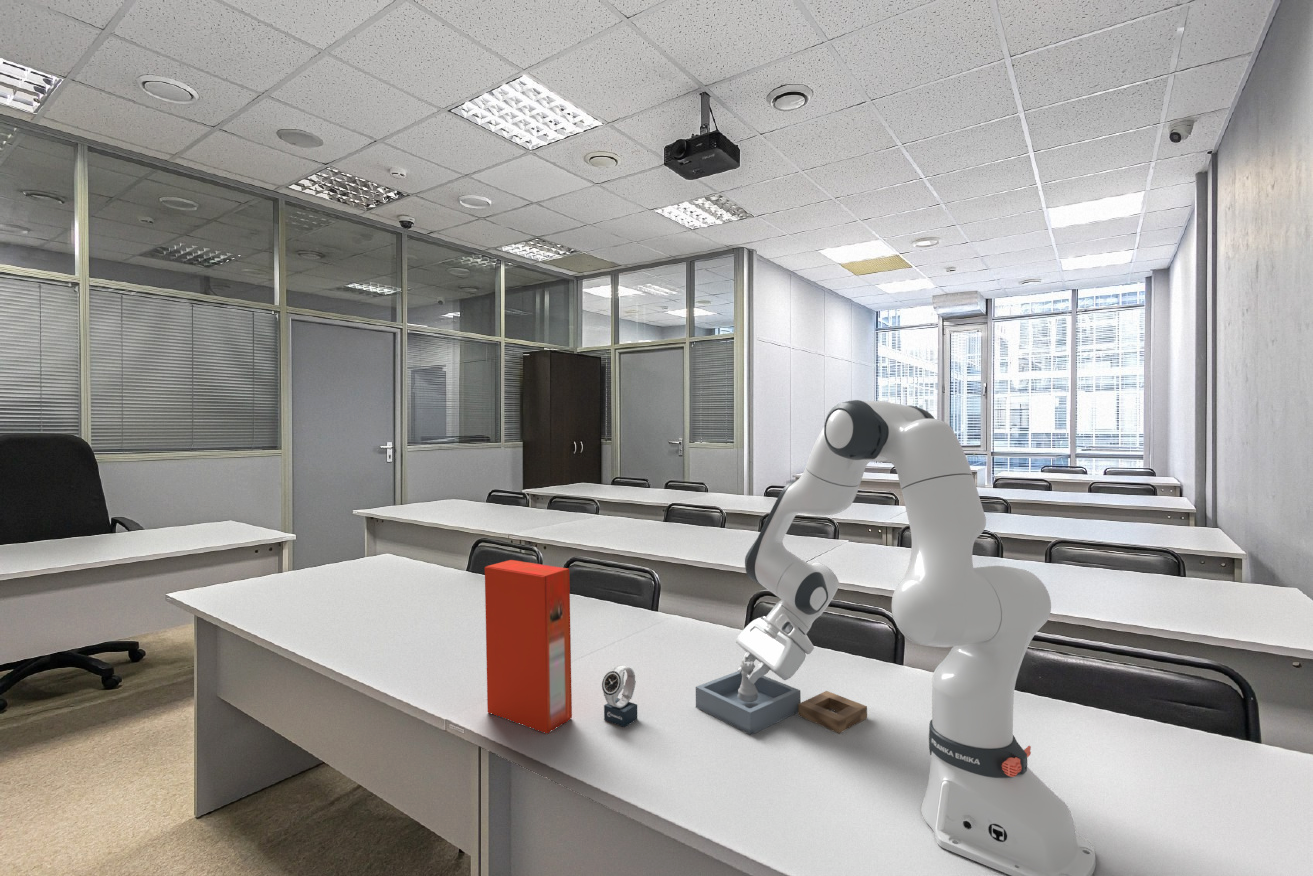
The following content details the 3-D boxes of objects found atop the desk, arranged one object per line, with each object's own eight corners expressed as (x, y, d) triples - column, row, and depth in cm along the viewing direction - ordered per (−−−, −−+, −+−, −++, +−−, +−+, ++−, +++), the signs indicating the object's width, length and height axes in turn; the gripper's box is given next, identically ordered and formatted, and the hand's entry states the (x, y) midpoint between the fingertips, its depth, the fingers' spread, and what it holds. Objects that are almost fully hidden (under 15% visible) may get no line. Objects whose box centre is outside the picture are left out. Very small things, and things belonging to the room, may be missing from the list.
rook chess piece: (744, 692, 135) (743, 656, 135) (762, 697, 132) (761, 660, 132) (733, 699, 131) (733, 662, 131) (751, 704, 128) (751, 667, 128)
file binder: (545, 735, 121) (543, 576, 121) (486, 713, 130) (484, 566, 130) (571, 718, 128) (570, 568, 128) (514, 699, 137) (512, 559, 137)
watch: (597, 723, 126) (597, 671, 126) (622, 709, 132) (622, 659, 132) (618, 731, 122) (618, 677, 122) (642, 716, 129) (642, 664, 129)
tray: (800, 711, 130) (800, 690, 130) (750, 735, 120) (750, 712, 120) (745, 687, 143) (745, 668, 143) (695, 707, 133) (695, 686, 133)
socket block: (867, 718, 127) (867, 706, 127) (839, 733, 121) (839, 721, 121) (826, 701, 135) (826, 690, 135) (798, 715, 128) (798, 703, 128)
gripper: (753, 605, 143) (716, 651, 140) (799, 632, 124) (757, 686, 121) (770, 622, 145) (733, 668, 142) (818, 651, 125) (777, 705, 122)
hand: (745, 677), depth 131 cm, fingers closed on rook chess piece, 3 cm apart
